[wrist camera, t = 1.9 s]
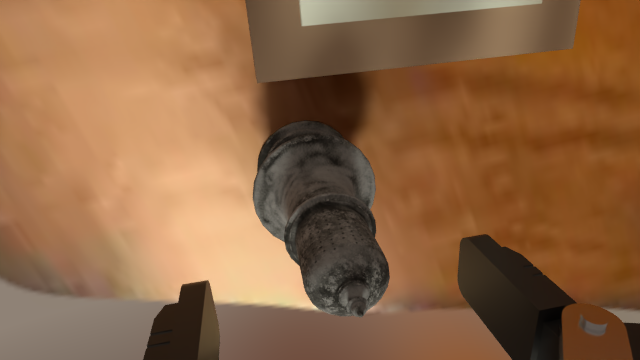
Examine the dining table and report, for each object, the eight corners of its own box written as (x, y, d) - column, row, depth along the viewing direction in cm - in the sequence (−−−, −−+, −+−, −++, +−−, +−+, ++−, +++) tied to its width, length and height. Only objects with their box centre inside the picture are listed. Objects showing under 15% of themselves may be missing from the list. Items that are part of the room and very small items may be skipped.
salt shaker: (248, 117, 21) (250, 235, 10) (359, 112, 22) (471, 216, 11) (255, 218, 23) (263, 403, 12) (355, 210, 24) (445, 377, 13)
